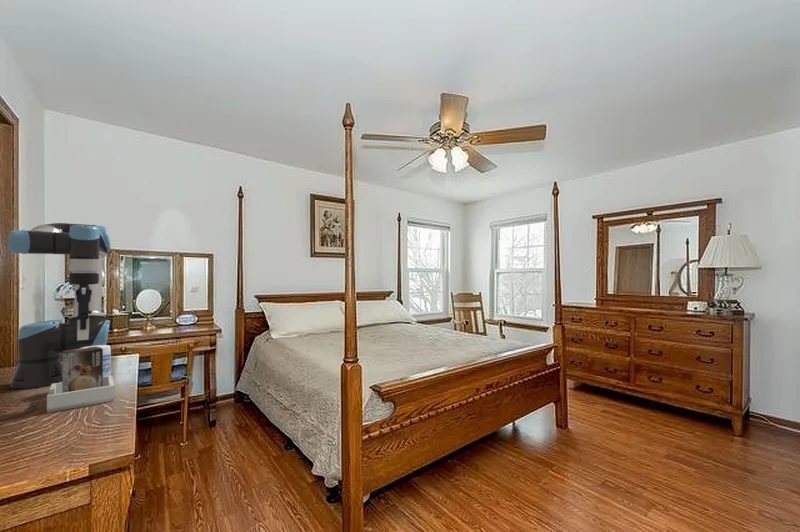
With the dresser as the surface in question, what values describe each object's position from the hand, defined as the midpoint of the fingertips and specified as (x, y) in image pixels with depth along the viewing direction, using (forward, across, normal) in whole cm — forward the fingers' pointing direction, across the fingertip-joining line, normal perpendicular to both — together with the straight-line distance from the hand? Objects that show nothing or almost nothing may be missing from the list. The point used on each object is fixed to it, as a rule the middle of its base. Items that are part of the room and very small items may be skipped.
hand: (83, 336), depth 120 cm
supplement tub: (+22, -16, +3) cm, 27 cm away
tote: (+21, -1, 0) cm, 21 cm away
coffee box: (+20, 0, 0) cm, 20 cm away
